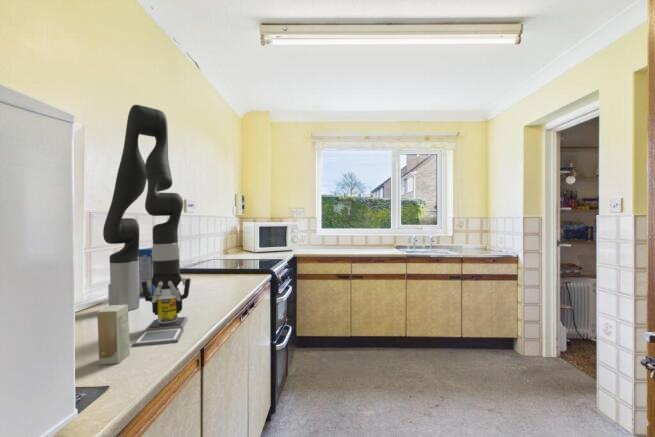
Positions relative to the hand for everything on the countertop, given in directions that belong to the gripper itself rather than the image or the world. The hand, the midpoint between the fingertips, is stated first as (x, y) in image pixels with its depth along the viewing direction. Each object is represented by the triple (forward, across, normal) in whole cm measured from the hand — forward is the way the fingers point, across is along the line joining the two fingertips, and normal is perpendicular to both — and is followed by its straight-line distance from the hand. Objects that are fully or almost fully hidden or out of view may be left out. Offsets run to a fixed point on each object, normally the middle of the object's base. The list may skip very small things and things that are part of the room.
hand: (167, 313), depth 113 cm
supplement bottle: (+3, 0, 0) cm, 3 cm away
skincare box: (+4, +7, +25) cm, 26 cm away
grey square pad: (+4, 0, +12) cm, 12 cm away
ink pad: (+4, 0, 0) cm, 4 cm away
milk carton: (+4, +16, -54) cm, 56 cm away
